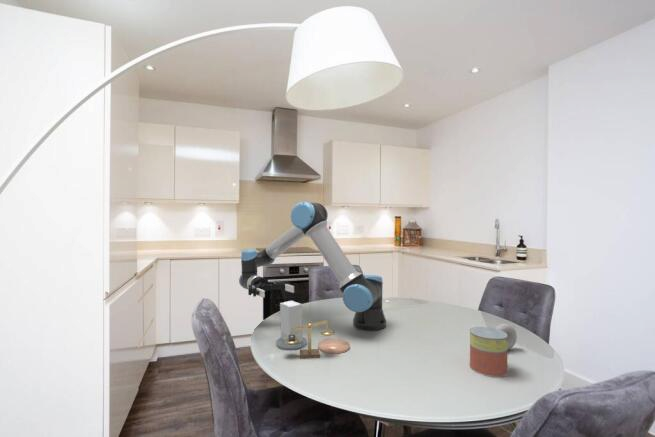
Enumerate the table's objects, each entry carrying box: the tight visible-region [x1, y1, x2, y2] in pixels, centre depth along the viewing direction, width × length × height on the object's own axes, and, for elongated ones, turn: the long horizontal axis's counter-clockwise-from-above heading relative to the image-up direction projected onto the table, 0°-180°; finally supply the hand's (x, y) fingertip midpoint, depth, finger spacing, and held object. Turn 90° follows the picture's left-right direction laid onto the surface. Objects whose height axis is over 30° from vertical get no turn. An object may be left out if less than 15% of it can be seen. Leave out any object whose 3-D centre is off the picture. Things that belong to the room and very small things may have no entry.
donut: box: [494, 323, 518, 351], centre depth 125 cm, size 10×4×10 cm, turn 105°
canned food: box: [469, 326, 509, 378], centre depth 109 cm, size 11×11×12 cm
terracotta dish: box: [317, 337, 350, 355], centre depth 127 cm, size 12×12×1 cm
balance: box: [285, 319, 335, 360], centre depth 120 cm, size 18×5×12 cm, turn 96°
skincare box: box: [279, 300, 304, 343], centre depth 130 cm, size 8×6×15 cm
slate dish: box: [275, 336, 308, 351], centre depth 130 cm, size 12×12×1 cm
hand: (279, 291), depth 138 cm, fingers open, 13 cm apart
